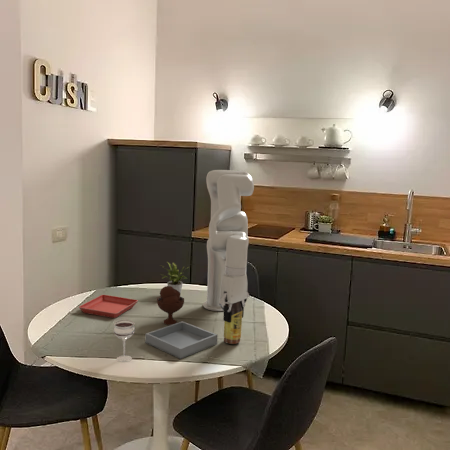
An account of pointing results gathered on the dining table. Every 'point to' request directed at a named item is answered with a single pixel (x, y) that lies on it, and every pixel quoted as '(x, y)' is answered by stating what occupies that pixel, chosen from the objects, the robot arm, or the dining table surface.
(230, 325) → the sauce bottle
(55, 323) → the dining table surface
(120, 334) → the wineglass
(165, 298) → the ice cream bowl
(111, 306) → the red square tray
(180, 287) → the house plant
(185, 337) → the parts tray
